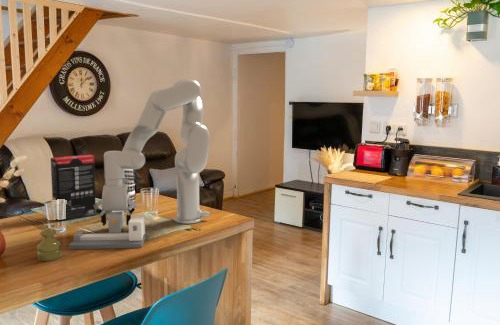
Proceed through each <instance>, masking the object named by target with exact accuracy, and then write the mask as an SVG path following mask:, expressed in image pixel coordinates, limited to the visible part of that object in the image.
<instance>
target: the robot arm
mask: <svg viewBox="0 0 500 325" xmlns="http://www.w3.org/2000/svg"><path fill="white" fill-rule="evenodd" d="M201 93H202V87H201V84H200V83H199V82H198V80H195V79H192V78H191V79H180V80H177V81H175V83H174V85H172V86H170V87H166V88H163V89H155V90H153V91H152V92H151V93H150V94H149V95H148V98H147V100H146V102H145V105H144V108H143V110H142V111H141V113H140V117H139V119H138V121H137V122H136V124H135V126H134V127H133V129H132V131H131V132H130V134H128V137H127V139H126V140H125V142H124V143H125V144H124V146H123V148H122V150H108V151H105V152H104V154H103V172H104V175H103V176H104V185H103V186H102V191H101V193H102V194H101V199H100V200H99V201H98V202H95V204H94V205H93V207H94V208H95V209H96V212H97V213H98V214H99V215H100V219H101V221H100V222H101V224H102V226H106V224H107V214H106V212H112V211H124V213H126V216H125V220H126V223H125V225H127V226H129V221H130V219H131V217H132V214H133V213H134V212H135V211H136V209H137V207H138V203H137V202H136V203H135V202H133V201H131V200H130V199H129V193H128V187H127V185H126V184H125V183H128V179H125V177H124V169H134V170H140V169H142V168H143V166H144V165H145V164H146V156H145V155H144V154H143V153H142V152H143V149H144V147H145V146H146V145H145V144H146V143H147V141H148V140H149V139H150V138H152V137H153V136H154V135H155V134H156V133H158V131H159V129H160V126H161V125H162V122H163V120H164V118H165V115H166V113H167V112H169V111H173V110H175V109H177V108H180V107H182V118H181V128H180V134H179V135H180V139H181V141H182V142H183V143H184V144H186V147H182V148H180V149H179V150H178V151H177V152H176V154H175V157H174V168H175V173H176V203H177V204H176V209H177V210H176V211H177V213H176V214H177V215H175V216H174V217H173V221H174V222H175V223H177V224H184V225H186V224H197V223H200V222H202V221H203V220H204V217H210V214H211V213H210V211H207V210H201V207H200V176H199V175H200V174H199V173H202V172H203V171H204V169H205V168H206V166H207V163H208V157H209V150H210V141H211V135H210V134H211V133H210V132H209V129H208V128H207V126H206V125H204V123H203V120H204V103H203V100H202V99H201V97H200V96H201ZM129 204H131V205H133V208H132V209H131V210H130V209H129V208H128V207H129ZM99 206H101V208H100V207H99Z"/></svg>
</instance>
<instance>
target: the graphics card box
mask: <svg viewBox="0 0 500 325" xmlns="http://www.w3.org/2000/svg"><path fill="white" fill-rule="evenodd" d="M50 172H51V173H50V174H51V175H50V176H51V191H52V192H51V195H52V196H51V197H52V199H51V200H57V199H65V200H67V204H66V220H65V221H67V220H72V219H79V218H83V217H84V218H85V217H89V216H95V215H96V214H97V213H96V212H97V211H96V209H95V208H94V207H93V205H94V204H95V203H96V184H95V182H96V181H95V180H96V179H95V156H94V155H93V154H83V155H82V154H80V155H72V156H71V155H69V156H60V157H51V158H50Z"/></svg>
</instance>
